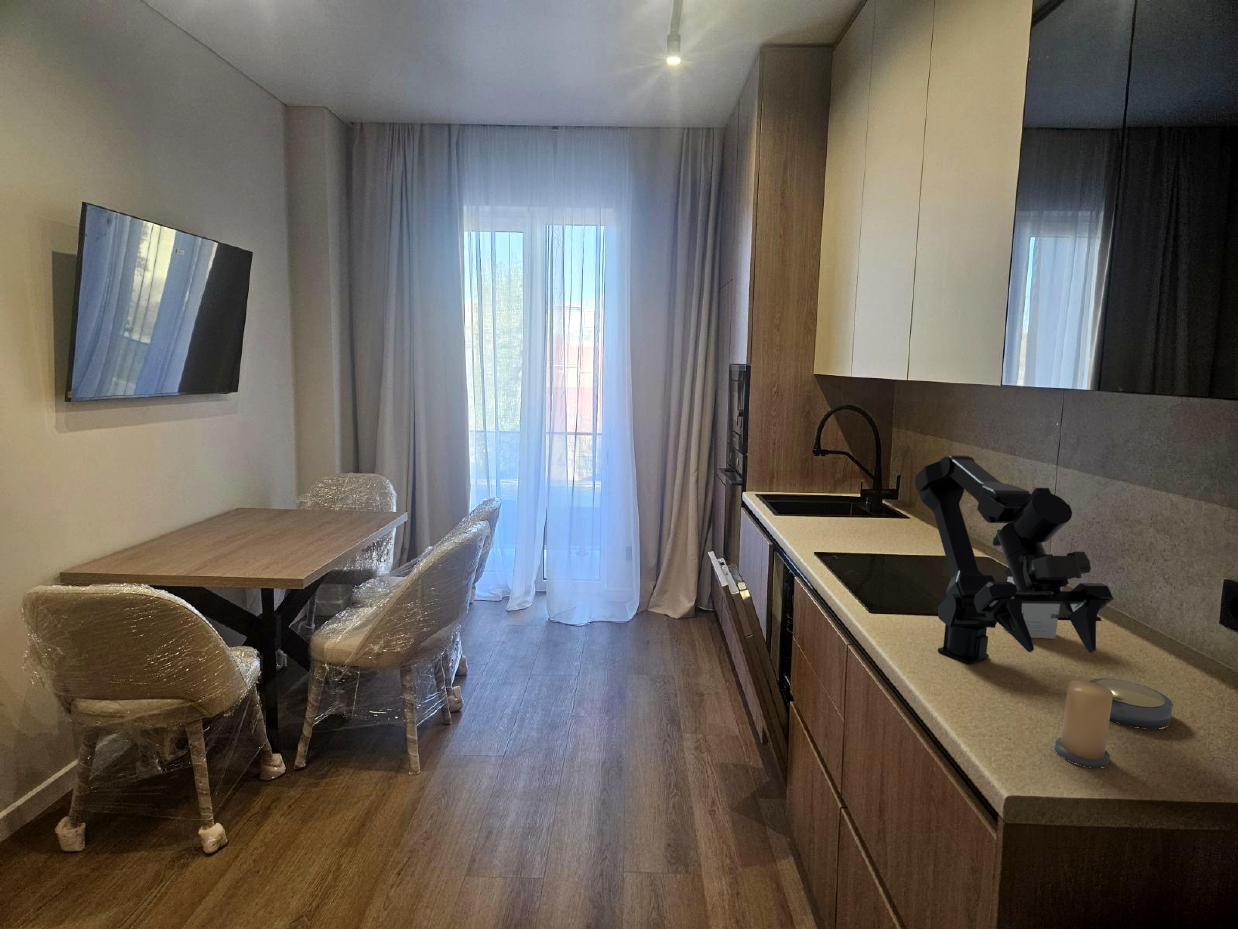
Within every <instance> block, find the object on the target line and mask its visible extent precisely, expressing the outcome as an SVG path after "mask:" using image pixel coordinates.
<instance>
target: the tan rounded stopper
mask: <svg viewBox="0 0 1238 929" xmlns="http://www.w3.org/2000/svg"><path fill="white" fill-rule="evenodd" d="M1112 699H1113V693H1112V691H1111V690H1109V689H1108V688H1106V687H1104V686H1102V685H1099V684H1096V683H1092V682H1089V681H1087V680H1080V679H1079V680H1078V679H1077V680H1071V681H1068V685H1067V690H1066V699H1065V706H1064V715H1063V721H1062V722H1063V723H1062V729H1061V737H1059V738H1056V740H1055V743H1054V744H1055V746H1054V751H1055V753H1056V752H1057V753H1058V754H1059V755H1060V756H1062V757H1063V758H1065V759H1066V760H1069V761H1071V762H1073V763H1077V764H1079V765H1081V766H1085V767H1091V768H1101V767H1106V766H1107V765H1108V764H1110V757H1111V756H1110V753H1109V752H1108V751H1107V750H1106V749H1107V748H1106V747H1107V742H1108V741H1107V739H1108V735H1109V734H1108V733H1109V726H1110V721H1109V720H1110V713H1111V706H1112ZM1057 753H1056V754H1057ZM1058 754H1057V755H1058ZM1059 755H1058V756H1059ZM1060 756H1059V757H1060ZM1063 758H1062V759H1063ZM1066 760H1065V761H1066ZM1081 766H1080V767H1081ZM1108 766H1109V765H1108ZM1108 766H1107V767H1108ZM1085 767H1084V768H1085ZM1107 767H1106V768H1107Z"/></svg>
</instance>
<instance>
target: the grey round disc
mask: <svg viewBox="0 0 1238 929" xmlns="http://www.w3.org/2000/svg"><path fill="white" fill-rule="evenodd" d="M1088 682H1092V683H1096V684H1099V685H1102V686H1104V687H1106V688H1108V689H1109V690H1111V691H1112V693H1113V699H1112V706H1111V713H1110V721H1109V722H1112V721H1113V723H1115V722H1118V723H1120V724H1119V725H1121V724H1122V726H1124V725H1125V727H1128V726H1132V727H1131V728H1133V727H1139V728H1146V729H1159V728H1162V727H1166V726H1168V725H1169V724H1170V725H1171V719H1172V713H1173V712H1172V711H1173V705H1174V703H1173V702H1172V700H1171V699H1170V698H1169V697H1168V696H1167V695H1165V694H1163V693H1162V692H1159V691H1158V690H1156V689H1155V688H1151V687H1148V686H1146V685H1143V684H1141V683H1136V682H1132V681H1128V680H1125V679H1124V680H1123V679H1117V678H1109V677H1107V678H1106V677H1102V678H1101V677H1100V678H1094V679H1091V680H1089V681H1088ZM1118 723H1117V724H1118ZM1170 725H1169V726H1170ZM1169 726H1168V727H1169Z"/></svg>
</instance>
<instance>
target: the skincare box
mask: <svg viewBox="0 0 1238 929" xmlns="http://www.w3.org/2000/svg"><path fill="white" fill-rule="evenodd" d="M1006 582H1011V583H1013V584H1015V583H1014V580H1013V578H1012V577H1007V581H1006ZM1060 589H1061V591H1063V587H1061V588H1060ZM1060 608H1061V604H1024V603H1022V615H1023V617H1024V620H1025V623H1026V625H1027V628H1028V631H1029V633H1030V636H1031V639H1049V640H1054V639H1056V635H1057V629H1058V622H1059V616H1060ZM1001 627H1002V626H1001ZM1002 629H1004V630H1005V631H1007V630H1006V629H1005V628H1003V627H1002Z"/></svg>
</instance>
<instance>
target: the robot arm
mask: <svg viewBox="0 0 1238 929" xmlns="http://www.w3.org/2000/svg"><path fill="white" fill-rule="evenodd" d="M914 486H915V489H916V491H917V492H918V494H919V498H920V500H921V503H923V504H924V505H925V506H926V507H927V508H928V509H929V510H931V511H932V512H933V515H934V519H935V522H936V526H937V529H938V533H939V536H940V540H941V544H942V547H943V548H942V549H943V553H944V555H945V559H946V562H947V566H948V570H949V573H950V578H951V579H950V581H949V584H948V586H947V589H946V591H945V593H946V598H945V599H944V600H943V601H942V602H941V603H940V604H939V605H938V607H937V614H938V617H937V618H938V619H939V620H940V621H941V622H942V623H944V624H945V625H944V634H943V635H944V636H943V644H942V646H941V647H939V648H937V652H938V653H941V654H943V655H945V656H948V657H950V658H952V659H955V660H957V661H961V662H963V663H965V664H968V665H969V664H972V663H976V662H979V661H981V660H984V659H988V658H989V656H990V655H989V654H988V653H987V650H988V643H989V636H988V635H987V630H988V629H987V628H991V629H995V628H996V627H997V624H999V625H1000V626H1001V627H1003V628H1002V629H1004V628H1005V629H1006V630H1005V629H1004V630H1005V631H1006V632H1008V633H1009V635H1011V636H1012V637H1013V638H1014V640H1016V641H1017V642H1018V643H1019V644H1020V645H1021V647H1023V648H1024V649H1025V651H1027V653H1032V652H1033V651H1034V650H1035V648H1034V647H1035V646H1034V643H1033V642H1034V641H1033V640H1032V639H1033V638H1031V636H1030V633H1029V631H1028V628H1027V625H1026V623H1025V620H1024V617H1023V615H1022V603H1024V604H1060V605H1064V608H1065V609H1066V611H1068V612H1069V613H1070V614H1069V615H1068V616H1067V617H1068V620H1069V621H1070V623H1071V624H1072V626H1073V628H1074V629H1075V632H1076V633H1077V635H1078V637H1079V639H1080V641H1081V642H1082V644H1083V645H1084V647H1085V648H1086V650H1087V652H1088V653H1090V654H1093V653H1094V652H1096V650H1097V620H1098V619H1097V618H1098V614H1099V612H1100V610H1102V609H1103V608H1105V607H1106V606H1107V605H1108V603H1111V602H1112V601H1113V600H1115V598H1114V596H1113V593H1112V591H1111V589H1110V587H1109V586H1108V585H1106V584H1104V583H1102V582H1099V583H1098V582H1080V583H1079V584H1077V585H1076V586H1074V588H1073V589H1071V590H1062V591H1061V589H1060V588H1061V587H1062V588H1063V587H1067V586H1068V585H1069V580H1070V579H1075V578H1076V579H1081V578H1083V577H1082V575H1083V574H1088V573H1090V572H1091V569H1092V567H1091V562H1090V559H1089V558H1088V555H1087V554H1086V552H1085V551H1073V552H1067V554H1066V555H1053V554H1052V553H1051V554H1047V553H1046V550H1045V547H1044V545H1043V543H1046V542H1049V541H1050V540H1051V539H1052V538H1054V536H1055V535H1056V534H1057V533H1058V532H1060V530H1061V529H1062V528H1063V527H1064V526H1065V525H1067V523H1068V522H1069V521H1070V520H1071V519H1072V517H1073V511H1072V508H1071V505H1070V504H1068V503H1067V502H1066V501H1065V499H1063V498H1062V497H1060V496H1057V495H1056V494H1053V493H1052V492H1051V490H1050V488H1049V487H1035V488H1034V489H1033V491H1031V492H1030V491H1028V490H1027V489H1025V488H1022V487H1020V486H1017V485H1012V484H1008V483H1004V482H1002V481H1000V480H998V479H997V478H996V477H995V476H993V475H992V474H991V473H990V472H988V471H987V470H985V469H984V467H982V466H980V465H979V464H978V463H976V461H975V459H974V458H973V457H972V456H969V455H964V454H963V455H961V454H960V455H959V454H949V455H946V456H943V457H942V458H941V459H940V460H939V461H936V462H934V463H933V462H932V463H930V464H928V465H926V466H924V467H923V468H922V469H921V470H920V471H919V472H918V473H917V474H916V475H915V479H914ZM965 492H967V493H968V495H970V496H972V497H973V498H974V499H975V500H976V501H977V503H978V504H977V508H976V509H977V511H978V512H979V513H980V515H981V517H982V518H983V519H984V521H985V522H987V523H988V524H1005V525H1003V526H1002V528H1000V529H997V530H996V535H995V536H994V537H993V540H992V545H993V546H994V547H995V546H997V547H1001V550H1002V553H1003V555H1004V556H1003V557H1004V558H1005V561H1006V563H1007V566H1008V568H1007V569H1005V571H1004V572H1005V576H1006V577H1007V578H1008V577H1012V578H1013V580H1014V583H1015V584H1013V583H1011V582H1007V581H995V578H994V577H993V576H992V575H990V574H983V573H982V572H981V571H980V569H979V566H978V563H977V559H976V555H975V553H974V552H975V551H974V549H973V546H972V543H971V540H970V535H969V533H968V529H967V526H966V523H965V519H964V516H963V513H962V509H961V506H960V503H961V500H962V498H963V495H964V493H965Z"/></svg>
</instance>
